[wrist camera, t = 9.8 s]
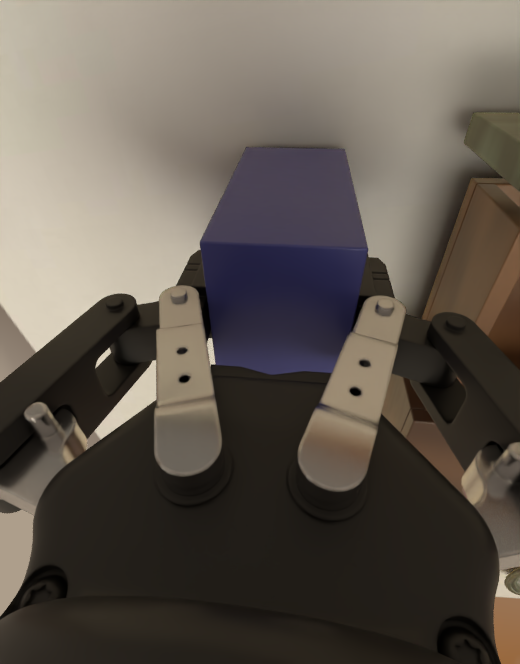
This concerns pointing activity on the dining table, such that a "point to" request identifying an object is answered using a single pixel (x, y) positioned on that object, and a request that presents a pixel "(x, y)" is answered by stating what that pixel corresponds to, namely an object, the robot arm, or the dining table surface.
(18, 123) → the dining table surface
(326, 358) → the snack box
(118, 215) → the dining table surface
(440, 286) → the drawer
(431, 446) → the cabinet
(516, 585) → the lid
